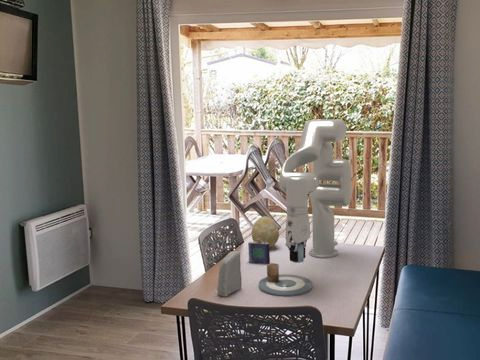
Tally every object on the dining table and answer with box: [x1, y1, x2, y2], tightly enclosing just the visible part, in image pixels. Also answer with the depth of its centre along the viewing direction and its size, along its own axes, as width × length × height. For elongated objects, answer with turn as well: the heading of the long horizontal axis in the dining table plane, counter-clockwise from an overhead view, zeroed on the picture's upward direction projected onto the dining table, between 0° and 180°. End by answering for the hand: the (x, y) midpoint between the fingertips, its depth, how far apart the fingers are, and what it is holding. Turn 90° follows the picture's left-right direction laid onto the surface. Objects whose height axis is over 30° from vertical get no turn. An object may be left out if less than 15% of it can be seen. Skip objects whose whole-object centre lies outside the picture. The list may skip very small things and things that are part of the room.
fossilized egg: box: [251, 215, 280, 249], centre depth 244 cm, size 13×13×15 cm
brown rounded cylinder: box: [266, 262, 280, 282], centre depth 199 cm, size 4×4×6 cm
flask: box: [247, 238, 271, 265], centre depth 223 cm, size 9×3×11 cm, turn 71°
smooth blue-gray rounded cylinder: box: [291, 243, 305, 264], centre depth 190 cm, size 4×4×6 cm
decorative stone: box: [216, 250, 242, 297], centre depth 191 cm, size 11×6×15 cm, turn 148°
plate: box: [258, 273, 314, 297], centre depth 196 cm, size 20×20×1 cm
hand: (297, 259), depth 191 cm, fingers closed on smooth blue-gray rounded cylinder, 4 cm apart
